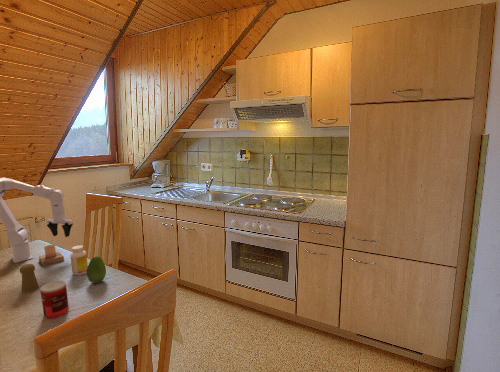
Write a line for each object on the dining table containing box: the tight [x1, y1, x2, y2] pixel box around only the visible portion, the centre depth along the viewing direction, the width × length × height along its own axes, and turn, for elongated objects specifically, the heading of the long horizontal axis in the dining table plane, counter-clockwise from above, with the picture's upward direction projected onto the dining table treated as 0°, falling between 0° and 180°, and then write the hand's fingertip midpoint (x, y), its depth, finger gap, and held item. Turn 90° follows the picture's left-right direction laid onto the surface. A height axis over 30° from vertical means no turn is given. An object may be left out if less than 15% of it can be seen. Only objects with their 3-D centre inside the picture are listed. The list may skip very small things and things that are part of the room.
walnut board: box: [38, 251, 65, 267], centre depth 154 cm, size 9×9×2 cm
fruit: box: [85, 256, 107, 284], centre depth 131 cm, size 8×8×12 cm
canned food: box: [39, 280, 70, 319], centre depth 109 cm, size 8×8×11 cm
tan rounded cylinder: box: [43, 244, 57, 258], centre depth 154 cm, size 5×5×6 cm
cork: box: [19, 263, 40, 294], centre depth 126 cm, size 6×6×11 cm
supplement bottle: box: [70, 244, 89, 276], centre depth 140 cm, size 7×7×13 cm
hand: (61, 236), depth 161 cm, fingers open, 7 cm apart
